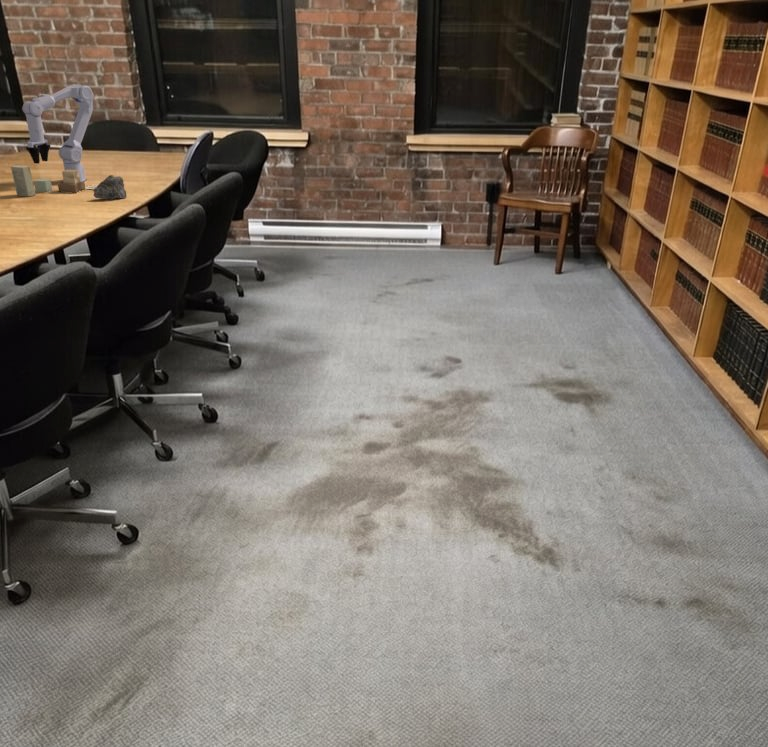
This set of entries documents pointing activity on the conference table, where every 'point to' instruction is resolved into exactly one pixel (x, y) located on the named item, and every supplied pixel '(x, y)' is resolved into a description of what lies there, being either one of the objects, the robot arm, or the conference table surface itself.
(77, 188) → the walnut block
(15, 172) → the skincare box
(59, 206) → the conference table surface
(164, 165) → the conference table surface
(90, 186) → the card
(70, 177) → the maple cube
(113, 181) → the mineral rock
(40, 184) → the sage cube
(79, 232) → the conference table surface
